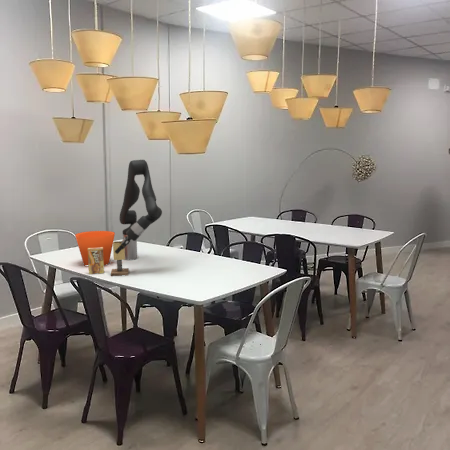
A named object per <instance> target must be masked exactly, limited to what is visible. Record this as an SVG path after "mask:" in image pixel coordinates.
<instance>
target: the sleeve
mask: <svg viewBox="0 0 450 450" xmlns="http://www.w3.org/2000/svg"><path fill="white" fill-rule="evenodd" d="M121 241H122V240H118V241H117V240H115V241H113V246H112V252H113V253H112V255H113V261H117V260H122V261H126V260H125V248H124V249H122V250H121V251H120V252H119V253H118V254H116V253H115V251H116V250H117V248H118V247H119V246H120V245H121ZM122 247H124V246H123V245H122Z"/></svg>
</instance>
